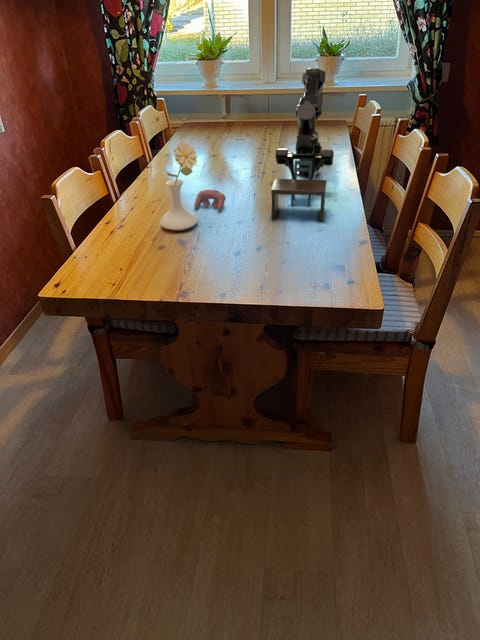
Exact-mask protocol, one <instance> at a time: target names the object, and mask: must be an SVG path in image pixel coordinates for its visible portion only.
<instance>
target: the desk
mask: <svg viewBox="0 0 480 640" xmlns="http://www.w3.org/2000/svg"><path fill="white" fill-rule="evenodd" d="M327 181H328V180H327V179H313V180H309V179H300V178H299V179H298V178H297V179H292V178H275V179H274V181H273V184H272V186H271V189H270V190H271V191H270V193H271V221H275V220H276V218H277V216H278V215H277V214H278V211H279V195H290V196H291V195H295V196H308V195H311V196H319V197H320V208H319V209H320V210H319V211H320V212H319V223H323V222H324V215H325V206H326V192H327V191H326V190H327Z"/></svg>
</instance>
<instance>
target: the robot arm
mask: <svg viewBox="0 0 480 640" xmlns="http://www.w3.org/2000/svg"><path fill="white" fill-rule="evenodd" d="M326 72H327V71H325V70H323V69H320V68H319V67H318V68H316V67H315V68H310V67H309V68H307V69H305V70H304V71H302V73H301V74H302V75H301V83H302V85H303V90H304V95H303V96H302V97H301V98H300V99H299V104H297V106H296V110H295V117H296V118H297V125H298V128H297V130H298V131H297V136H296V142H295V152H292V151H289V149H288V148H277V149H276V150H275V161H276V164H277V165H284V166H285V167H288V169H289V172H290V175H291V179H294V167H295V160H302V161H312V174H311V180H315V177H316V176H317V175H319V174H320V172H319V171H320V169H321V168H324V166H333V164H334V150H333V149H323V147H322V145H321V142H319V141H320V140H319V135H320V134H319V133H318V132H317V131H316V129H317V120H318V118H320V116H322V114H323V109H322V106H321V105H320V102H319V101H320V98H319V96H320V95H321V93H322V92H323V91H324V85H325V84H326V78H327V73H326ZM298 168H309V165H298ZM297 176H300V177H304V178H307V179H309V171H297Z"/></svg>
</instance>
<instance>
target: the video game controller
mask: <svg viewBox="0 0 480 640" xmlns="http://www.w3.org/2000/svg"><path fill="white" fill-rule="evenodd" d="M210 200H212V202H211V201H210ZM225 201H226V195H225V194H224V193H223V192H221V191H220V190H219V191H218V190H216V189H203V190H200V191H199V192H198V193H197V195H196V198H195V201H194V204H193V207H194V210H195V211H197V210H199V208H200V206H201V205H202V206H203V207H204V208H209V207H210V206H211V207H212V208H214V209H217V211H218V212H219V213H221V212H222V211H223V209H224V206H225Z"/></svg>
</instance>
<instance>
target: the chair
mask: <svg viewBox="0 0 480 640" xmlns="http://www.w3.org/2000/svg"><path fill="white" fill-rule="evenodd" d="M299 165H309V168H299V167H298V166H299ZM299 171H309V178H308V180H311V174H312V161H302V160H299V159H294V179H298V175H297V172H299ZM295 200H296V195H290V206H291V207H294V201H295ZM311 201H312V195H307V207H311Z"/></svg>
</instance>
